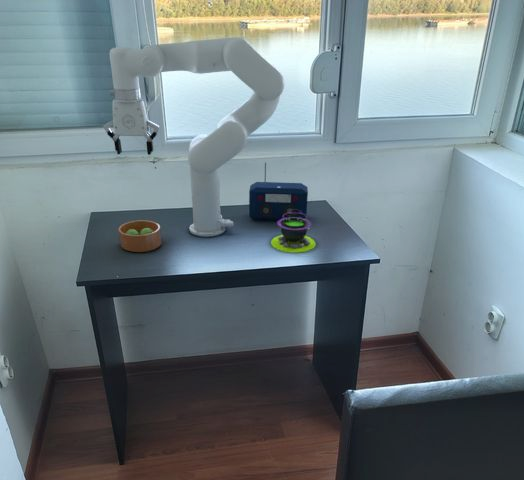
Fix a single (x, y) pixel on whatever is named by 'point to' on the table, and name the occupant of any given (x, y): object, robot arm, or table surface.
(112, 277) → the table surface
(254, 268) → the table surface
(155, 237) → the bowl
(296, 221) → the toy cauldron
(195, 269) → the table surface
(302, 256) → the table surface
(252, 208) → the radio
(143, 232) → the pea ball
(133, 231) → the pea ball
